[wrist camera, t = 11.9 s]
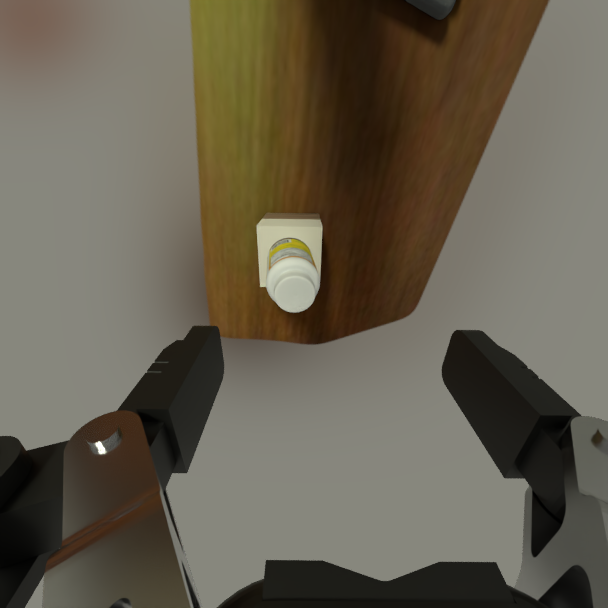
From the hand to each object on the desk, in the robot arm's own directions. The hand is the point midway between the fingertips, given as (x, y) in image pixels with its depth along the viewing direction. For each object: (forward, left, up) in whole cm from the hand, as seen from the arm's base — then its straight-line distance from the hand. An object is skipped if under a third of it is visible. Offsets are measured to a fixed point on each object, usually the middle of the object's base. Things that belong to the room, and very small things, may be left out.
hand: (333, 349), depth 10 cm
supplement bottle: (+5, -3, -26) cm, 27 cm away
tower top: (+5, -3, -31) cm, 32 cm away
